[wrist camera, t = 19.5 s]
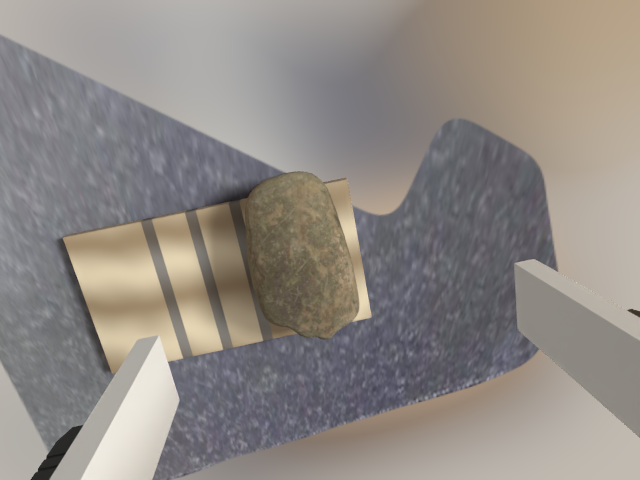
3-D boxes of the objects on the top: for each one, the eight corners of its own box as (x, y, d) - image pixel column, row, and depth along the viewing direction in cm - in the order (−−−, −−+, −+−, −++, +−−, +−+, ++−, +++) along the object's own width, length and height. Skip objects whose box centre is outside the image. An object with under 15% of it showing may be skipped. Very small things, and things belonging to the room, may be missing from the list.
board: (68, 234, 40) (62, 237, 39) (345, 177, 41) (347, 179, 40) (116, 367, 44) (112, 373, 43) (369, 312, 45) (371, 317, 43)
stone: (279, 350, 42) (252, 353, 32) (255, 212, 45) (224, 178, 36) (367, 331, 41) (367, 329, 32) (336, 194, 45) (328, 154, 35)
